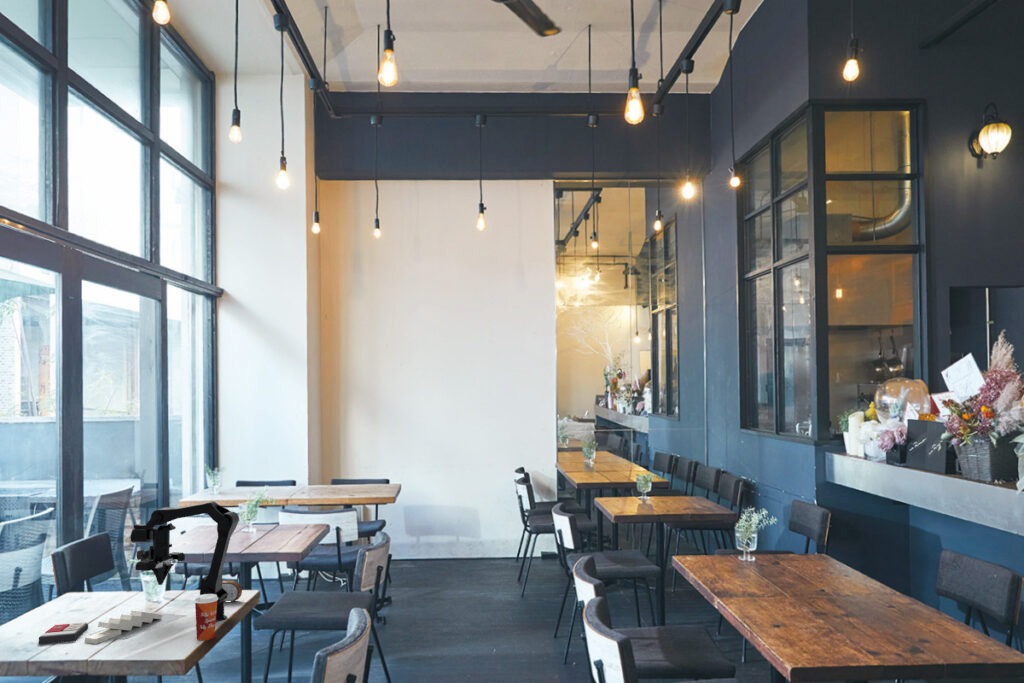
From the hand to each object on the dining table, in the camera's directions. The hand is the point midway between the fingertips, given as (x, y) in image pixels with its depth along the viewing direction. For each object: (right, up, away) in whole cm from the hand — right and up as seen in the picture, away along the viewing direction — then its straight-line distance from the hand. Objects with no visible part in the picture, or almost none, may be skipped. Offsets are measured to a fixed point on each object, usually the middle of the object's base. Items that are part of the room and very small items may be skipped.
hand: (160, 584), depth 271 cm
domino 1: (-6, -10, -19) cm, 23 cm away
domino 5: (0, -11, -2) cm, 11 cm away
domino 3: (-3, -10, -11) cm, 15 cm away
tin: (+14, -15, +22) cm, 30 cm away
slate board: (-3, -12, -10) cm, 16 cm away
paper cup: (+27, -11, -22) cm, 36 cm away
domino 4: (-2, -11, -7) cm, 13 cm away
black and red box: (-23, -12, -21) cm, 34 cm away
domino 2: (-5, -10, -15) cm, 19 cm away
